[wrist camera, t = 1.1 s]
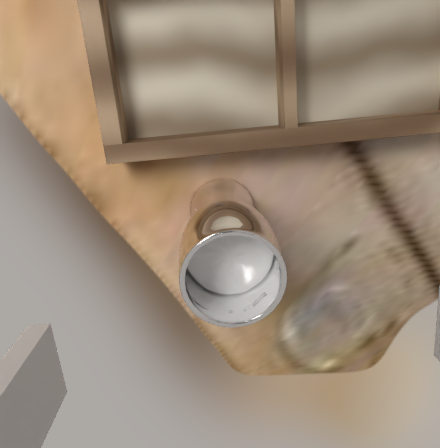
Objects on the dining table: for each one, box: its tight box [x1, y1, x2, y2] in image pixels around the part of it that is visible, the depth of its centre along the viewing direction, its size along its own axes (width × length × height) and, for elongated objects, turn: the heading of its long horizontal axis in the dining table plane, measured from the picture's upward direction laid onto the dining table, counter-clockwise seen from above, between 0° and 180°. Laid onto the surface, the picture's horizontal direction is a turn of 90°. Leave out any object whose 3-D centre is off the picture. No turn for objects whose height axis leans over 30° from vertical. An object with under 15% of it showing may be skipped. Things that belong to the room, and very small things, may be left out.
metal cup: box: [179, 179, 287, 327], centre depth 31 cm, size 7×7×15 cm
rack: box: [77, 0, 440, 164], centre depth 32 cm, size 14×30×4 cm, turn 95°
